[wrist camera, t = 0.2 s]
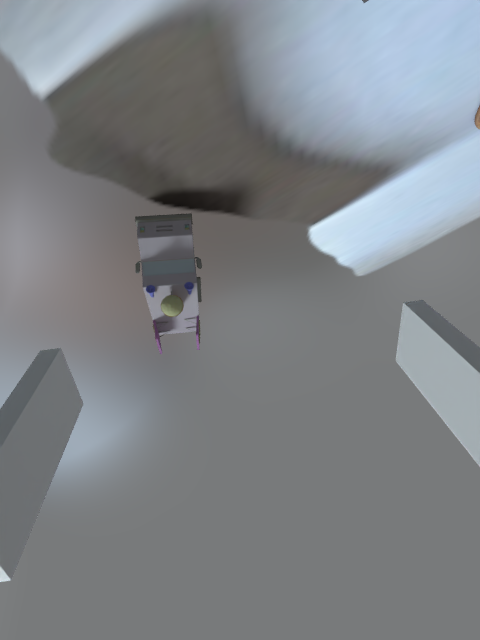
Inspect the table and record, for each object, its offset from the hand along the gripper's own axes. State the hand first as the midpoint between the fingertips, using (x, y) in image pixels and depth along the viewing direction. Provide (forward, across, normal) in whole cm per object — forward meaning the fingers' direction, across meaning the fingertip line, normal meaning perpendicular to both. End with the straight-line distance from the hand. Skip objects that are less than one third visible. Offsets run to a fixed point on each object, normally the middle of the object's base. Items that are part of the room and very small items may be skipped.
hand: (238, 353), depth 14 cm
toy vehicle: (+48, -8, -10) cm, 50 cm away
